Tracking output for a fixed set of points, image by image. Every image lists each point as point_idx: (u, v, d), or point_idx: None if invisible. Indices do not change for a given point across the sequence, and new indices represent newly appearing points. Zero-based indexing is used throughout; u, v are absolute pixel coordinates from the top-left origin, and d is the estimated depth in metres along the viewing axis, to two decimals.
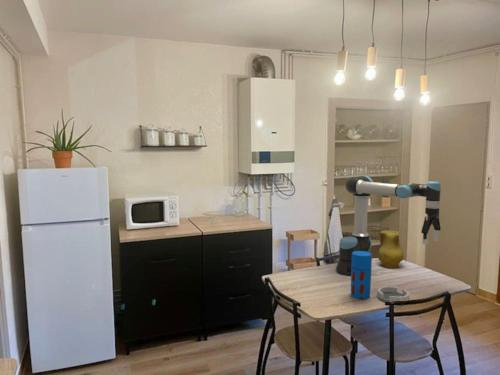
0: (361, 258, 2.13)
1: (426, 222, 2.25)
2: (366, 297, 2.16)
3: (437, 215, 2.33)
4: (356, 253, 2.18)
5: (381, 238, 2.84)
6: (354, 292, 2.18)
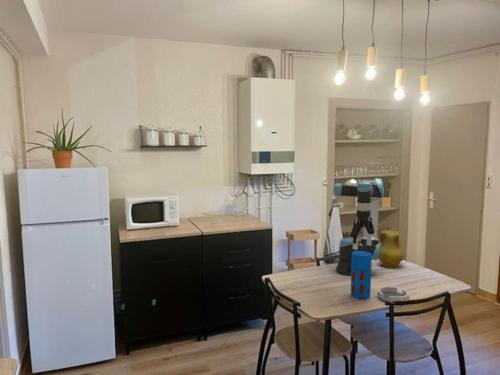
0: (361, 258, 2.13)
1: (355, 225, 2.11)
2: (366, 297, 2.16)
3: (370, 218, 2.19)
4: (356, 253, 2.18)
5: (381, 238, 2.84)
6: (354, 292, 2.18)
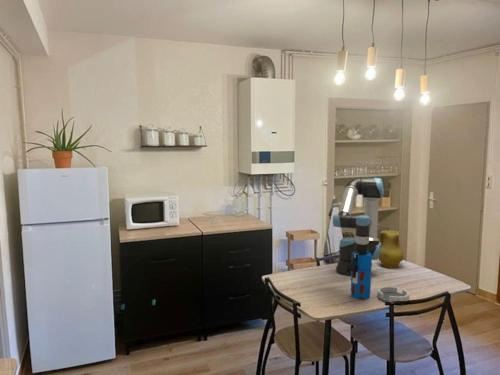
0: (361, 258, 2.13)
1: (354, 260, 2.14)
2: (366, 297, 2.16)
3: (368, 251, 2.21)
4: None
5: (381, 238, 2.84)
6: (354, 292, 2.18)
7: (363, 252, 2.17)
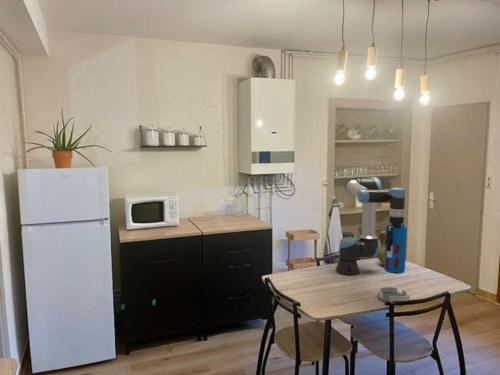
0: (396, 231, 2.08)
1: (389, 233, 2.08)
2: (401, 271, 2.11)
3: (402, 225, 2.16)
4: (390, 226, 2.13)
5: (381, 238, 2.84)
6: (388, 266, 2.12)
7: (398, 225, 2.12)
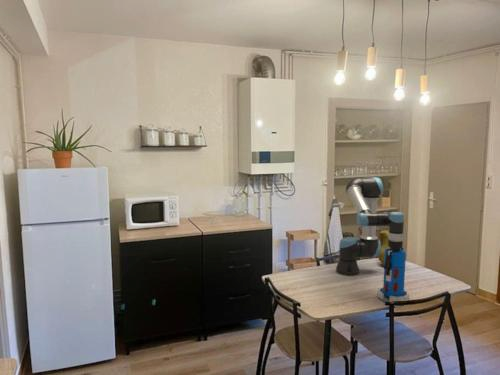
0: (395, 256, 2.10)
1: (388, 257, 2.10)
2: (400, 295, 2.12)
3: (401, 248, 2.18)
4: (389, 250, 2.15)
5: (381, 238, 2.84)
6: (387, 290, 2.14)
7: (397, 249, 2.14)
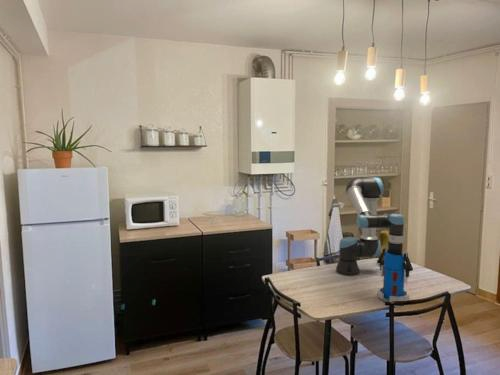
0: None
1: None
2: (385, 296, 2.15)
3: (404, 253, 2.10)
4: None
5: (381, 238, 2.84)
6: None
7: (394, 251, 2.14)
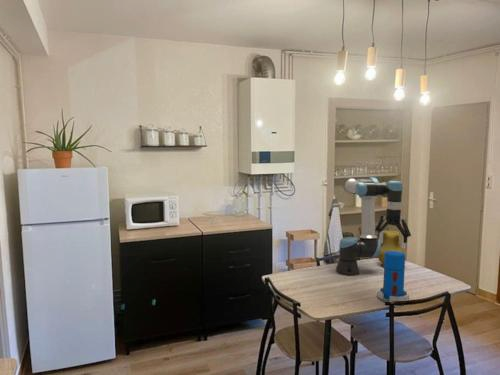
0: None
1: None
2: (385, 296, 2.15)
3: (402, 219, 2.12)
4: (392, 252, 2.18)
5: None
6: None
7: (392, 218, 2.16)
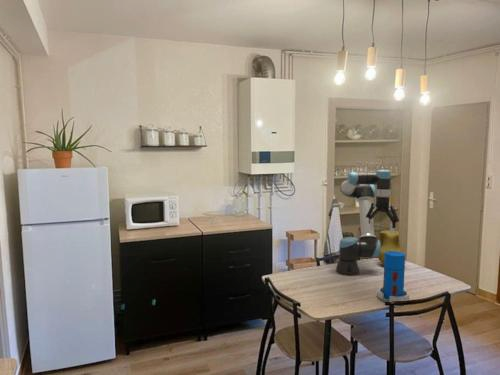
0: None
1: None
2: (385, 296, 2.15)
3: (390, 206, 2.24)
4: (392, 252, 2.18)
5: (381, 238, 2.84)
6: None
7: (381, 205, 2.28)
